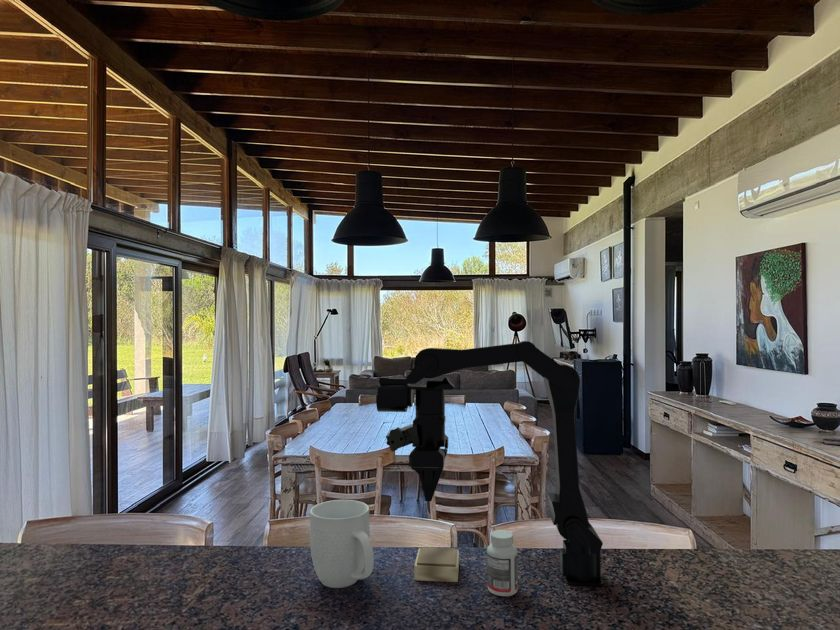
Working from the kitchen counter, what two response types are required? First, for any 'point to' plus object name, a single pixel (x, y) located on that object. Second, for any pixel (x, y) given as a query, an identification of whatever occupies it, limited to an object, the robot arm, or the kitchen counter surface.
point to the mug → (341, 542)
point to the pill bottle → (502, 564)
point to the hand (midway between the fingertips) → (430, 493)
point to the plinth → (437, 564)
